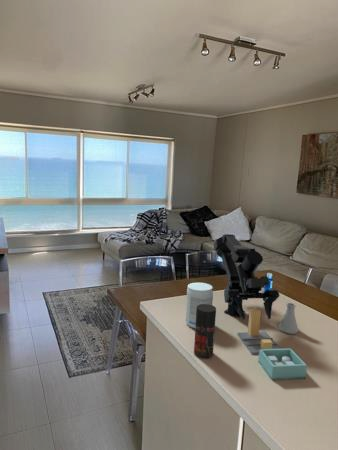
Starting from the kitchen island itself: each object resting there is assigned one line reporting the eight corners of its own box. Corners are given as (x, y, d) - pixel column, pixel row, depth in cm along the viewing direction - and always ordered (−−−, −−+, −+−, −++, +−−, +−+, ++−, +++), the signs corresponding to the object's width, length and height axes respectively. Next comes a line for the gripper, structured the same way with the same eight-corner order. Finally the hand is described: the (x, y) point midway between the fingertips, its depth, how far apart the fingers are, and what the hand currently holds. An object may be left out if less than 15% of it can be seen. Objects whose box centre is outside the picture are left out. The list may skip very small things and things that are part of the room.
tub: (258, 361, 100) (259, 349, 99) (289, 360, 101) (290, 348, 100) (271, 380, 91) (272, 366, 90) (305, 378, 92) (306, 365, 92)
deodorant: (192, 348, 105) (195, 304, 103) (210, 348, 106) (213, 304, 104) (195, 358, 100) (198, 311, 97) (214, 358, 100) (218, 311, 98)
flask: (299, 328, 124) (302, 302, 122) (298, 336, 117) (301, 309, 116) (279, 324, 127) (281, 299, 125) (276, 331, 120) (279, 305, 119)
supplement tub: (216, 326, 122) (219, 288, 120) (196, 332, 117) (198, 292, 115) (199, 316, 130) (202, 280, 128) (180, 321, 125) (182, 284, 123)
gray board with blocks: (237, 335, 116) (239, 308, 115) (265, 334, 118) (268, 308, 116) (251, 355, 104) (254, 325, 102) (283, 354, 105) (286, 324, 104)
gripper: (229, 267, 114) (237, 310, 105) (279, 267, 117) (292, 309, 108) (221, 281, 123) (228, 322, 114) (268, 281, 126) (278, 321, 117)
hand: (256, 319), depth 113 cm, fingers open, 9 cm apart
